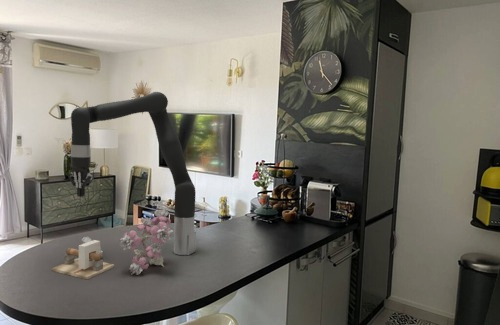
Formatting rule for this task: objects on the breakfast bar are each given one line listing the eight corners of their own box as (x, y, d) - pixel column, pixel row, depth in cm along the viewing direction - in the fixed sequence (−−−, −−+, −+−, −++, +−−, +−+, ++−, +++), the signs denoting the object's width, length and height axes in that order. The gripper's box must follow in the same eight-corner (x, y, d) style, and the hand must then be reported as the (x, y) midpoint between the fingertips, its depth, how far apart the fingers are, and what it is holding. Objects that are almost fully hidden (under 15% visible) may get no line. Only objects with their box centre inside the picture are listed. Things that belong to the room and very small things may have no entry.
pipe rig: (113, 266, 148) (114, 249, 148) (87, 279, 135) (87, 260, 135) (80, 259, 155) (80, 242, 154) (51, 270, 142) (51, 252, 141)
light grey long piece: (90, 235, 176) (104, 242, 156) (91, 249, 176) (104, 258, 156) (79, 236, 173) (91, 244, 153) (79, 250, 173) (91, 260, 153)
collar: (100, 262, 147) (100, 241, 146) (84, 269, 140) (84, 246, 139) (94, 261, 148) (94, 239, 147) (78, 268, 141) (78, 245, 140)
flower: (110, 257, 155) (112, 211, 142) (160, 244, 167) (166, 201, 155) (125, 293, 141) (128, 246, 129) (178, 275, 154) (186, 231, 142)
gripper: (99, 156, 153) (99, 196, 155) (76, 154, 158) (76, 193, 160) (85, 157, 146) (85, 199, 148) (61, 155, 151) (61, 196, 153)
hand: (80, 196), depth 154 cm, fingers closed
